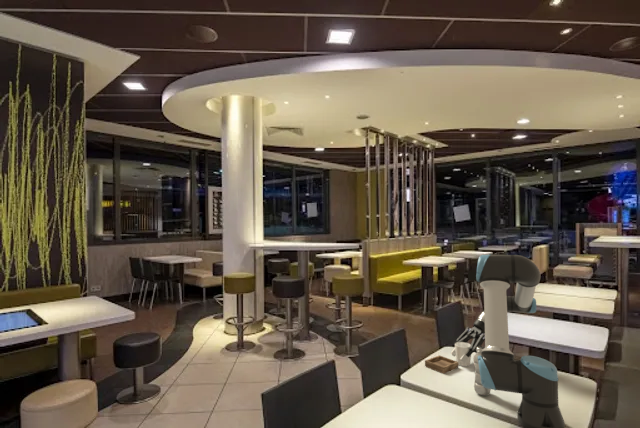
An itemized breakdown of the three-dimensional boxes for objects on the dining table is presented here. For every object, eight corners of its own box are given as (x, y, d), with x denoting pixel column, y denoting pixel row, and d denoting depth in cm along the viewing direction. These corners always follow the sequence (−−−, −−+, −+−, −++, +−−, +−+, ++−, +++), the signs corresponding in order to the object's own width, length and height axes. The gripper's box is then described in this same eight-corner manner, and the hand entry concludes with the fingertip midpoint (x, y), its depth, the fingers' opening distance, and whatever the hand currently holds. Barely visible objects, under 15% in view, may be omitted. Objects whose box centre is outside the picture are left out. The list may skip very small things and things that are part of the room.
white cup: (451, 362, 198) (451, 343, 198) (463, 359, 202) (462, 341, 202) (463, 368, 191) (462, 348, 191) (475, 365, 195) (474, 345, 195)
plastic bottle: (481, 398, 160) (480, 351, 160) (470, 391, 167) (469, 345, 167) (494, 396, 162) (492, 349, 162) (483, 389, 168) (482, 344, 168)
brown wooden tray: (443, 373, 185) (443, 367, 185) (425, 366, 195) (424, 360, 195) (458, 367, 192) (458, 362, 192) (439, 361, 201) (439, 355, 201)
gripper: (501, 333, 190) (474, 370, 186) (475, 322, 210) (450, 355, 206) (492, 324, 189) (464, 360, 185) (466, 313, 209) (441, 346, 205)
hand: (457, 357), depth 196 cm, fingers closed on white cup, 8 cm apart
